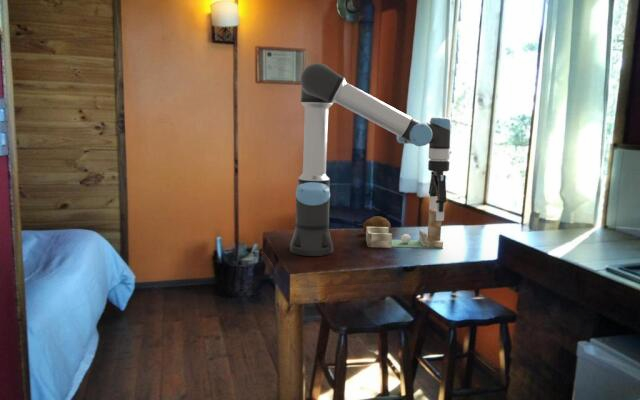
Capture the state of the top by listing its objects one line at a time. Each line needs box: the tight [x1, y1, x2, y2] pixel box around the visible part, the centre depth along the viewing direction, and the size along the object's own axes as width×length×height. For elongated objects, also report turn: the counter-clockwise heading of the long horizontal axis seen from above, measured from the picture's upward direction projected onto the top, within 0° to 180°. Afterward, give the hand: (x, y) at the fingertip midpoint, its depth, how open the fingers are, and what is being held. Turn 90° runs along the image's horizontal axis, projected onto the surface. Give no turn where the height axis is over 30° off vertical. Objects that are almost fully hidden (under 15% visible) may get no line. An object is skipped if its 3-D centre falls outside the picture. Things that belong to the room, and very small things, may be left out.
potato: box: [362, 215, 391, 234], centre depth 208 cm, size 8×12×8 cm, turn 122°
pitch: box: [391, 239, 444, 250], centre depth 195 cm, size 26×10×1 cm, turn 89°
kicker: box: [418, 208, 444, 248], centre depth 194 cm, size 7×10×13 cm
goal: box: [365, 227, 393, 249], centre depth 195 cm, size 9×12×5 cm
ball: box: [400, 233, 412, 244], centre depth 195 cm, size 4×4×4 cm
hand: (436, 216), depth 193 cm, fingers open, 13 cm apart
